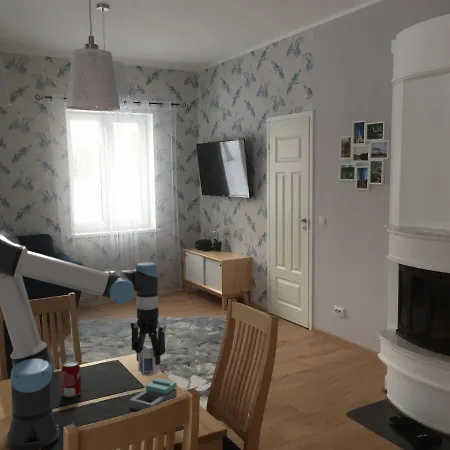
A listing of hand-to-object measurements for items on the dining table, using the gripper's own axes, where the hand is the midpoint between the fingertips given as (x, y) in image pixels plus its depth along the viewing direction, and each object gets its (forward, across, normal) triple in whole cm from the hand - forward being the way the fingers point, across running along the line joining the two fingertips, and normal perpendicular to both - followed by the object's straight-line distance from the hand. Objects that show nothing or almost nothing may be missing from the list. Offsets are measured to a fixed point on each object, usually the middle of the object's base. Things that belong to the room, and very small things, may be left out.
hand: (148, 371), depth 181 cm
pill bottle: (+1, 0, 0) cm, 1 cm away
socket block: (+12, 0, -3) cm, 13 cm away
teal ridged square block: (+9, 0, -8) cm, 12 cm away
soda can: (+13, +31, +6) cm, 34 cm away
